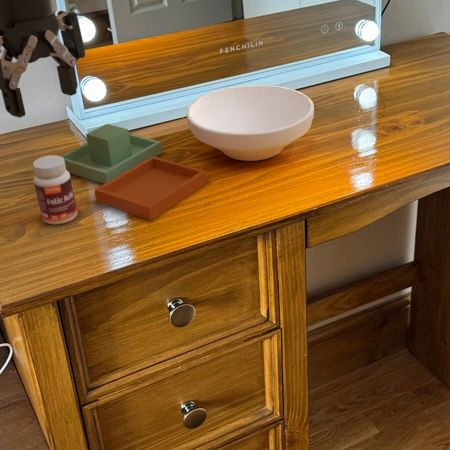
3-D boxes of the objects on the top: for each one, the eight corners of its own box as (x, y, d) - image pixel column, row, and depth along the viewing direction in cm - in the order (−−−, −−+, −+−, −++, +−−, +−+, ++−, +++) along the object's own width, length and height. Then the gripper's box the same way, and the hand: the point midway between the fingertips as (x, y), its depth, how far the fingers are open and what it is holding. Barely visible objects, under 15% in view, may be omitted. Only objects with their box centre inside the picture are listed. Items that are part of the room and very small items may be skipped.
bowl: (207, 188, 110) (202, 143, 107) (179, 136, 126) (174, 95, 122) (333, 164, 116) (333, 120, 112) (291, 117, 131) (289, 77, 128)
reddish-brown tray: (150, 220, 103) (148, 207, 102) (96, 202, 108) (94, 189, 107) (207, 183, 112) (205, 170, 111) (154, 167, 117) (152, 155, 116)
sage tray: (107, 185, 112) (105, 173, 111) (59, 169, 117) (56, 157, 116) (162, 153, 121) (161, 141, 120) (115, 140, 126) (113, 128, 125)
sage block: (111, 167, 116) (107, 140, 114) (90, 160, 118) (85, 134, 116) (132, 155, 119) (128, 129, 117) (111, 149, 121) (106, 123, 119)
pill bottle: (52, 229, 102) (39, 173, 97) (36, 216, 105) (23, 161, 100) (84, 216, 104) (73, 161, 100) (67, 204, 108) (56, 150, 103)
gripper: (42, -39, 97) (65, 83, 105) (-55, -16, 87) (-21, 118, 95) (84, -34, 94) (105, 92, 102) (-12, -9, 83) (19, 129, 92)
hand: (44, 104), depth 98 cm, fingers open, 8 cm apart
